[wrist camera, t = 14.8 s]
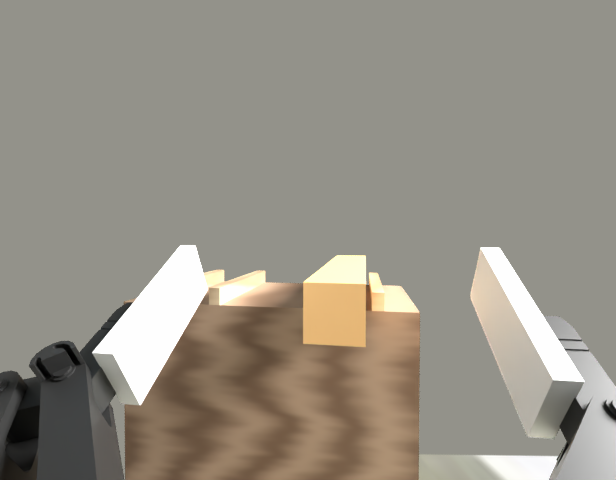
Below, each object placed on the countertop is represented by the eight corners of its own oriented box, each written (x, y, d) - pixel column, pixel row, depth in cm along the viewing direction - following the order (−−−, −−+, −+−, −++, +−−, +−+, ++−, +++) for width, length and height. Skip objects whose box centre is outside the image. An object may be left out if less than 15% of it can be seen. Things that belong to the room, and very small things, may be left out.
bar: (303, 343, 20) (303, 282, 20) (337, 283, 43) (337, 255, 43) (365, 347, 19) (366, 283, 19) (365, 284, 43) (365, 255, 43)
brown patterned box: (126, 623, 32) (123, 285, 31) (197, 505, 46) (196, 269, 45) (416, 681, 28) (420, 293, 27) (399, 533, 42) (401, 273, 41)
